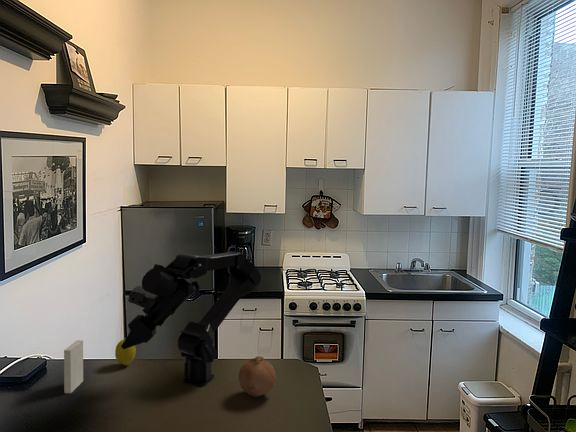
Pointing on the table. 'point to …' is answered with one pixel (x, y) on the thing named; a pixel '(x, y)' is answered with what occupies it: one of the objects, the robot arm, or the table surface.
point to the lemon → (124, 353)
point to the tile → (73, 366)
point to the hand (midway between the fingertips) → (129, 340)
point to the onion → (257, 376)
